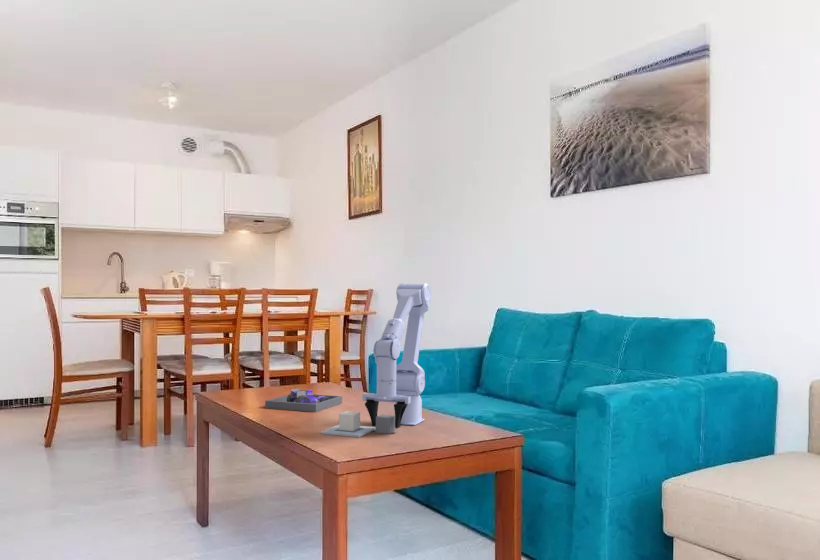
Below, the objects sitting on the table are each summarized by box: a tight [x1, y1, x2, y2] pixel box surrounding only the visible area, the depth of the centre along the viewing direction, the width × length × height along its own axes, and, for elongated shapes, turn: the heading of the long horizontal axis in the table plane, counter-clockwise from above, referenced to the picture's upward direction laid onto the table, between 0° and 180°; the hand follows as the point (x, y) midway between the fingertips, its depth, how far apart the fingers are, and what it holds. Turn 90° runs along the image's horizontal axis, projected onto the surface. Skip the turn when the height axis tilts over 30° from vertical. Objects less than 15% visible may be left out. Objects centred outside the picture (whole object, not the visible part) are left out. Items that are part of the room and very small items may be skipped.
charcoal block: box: [375, 413, 397, 435], centre depth 192 cm, size 5×5×5 cm
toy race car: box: [287, 388, 329, 404], centre depth 236 cm, size 10×15×6 cm, turn 126°
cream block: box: [338, 410, 361, 431], centre depth 192 cm, size 5×5×5 cm
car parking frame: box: [264, 393, 343, 413], centre depth 235 cm, size 20×20×2 cm
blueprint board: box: [320, 424, 376, 438], centre depth 192 cm, size 12×12×1 cm
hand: (386, 426), depth 192 cm, fingers open, 7 cm apart
